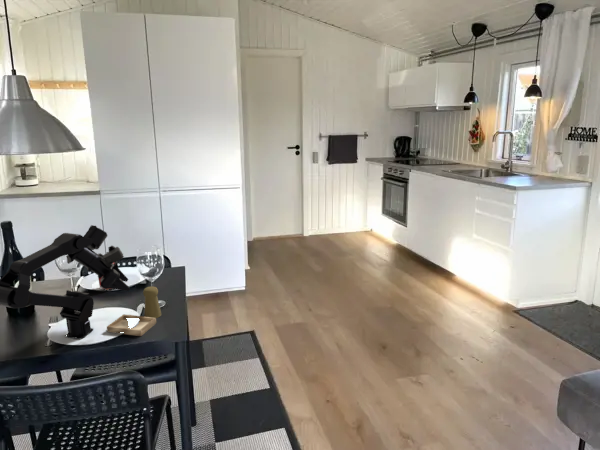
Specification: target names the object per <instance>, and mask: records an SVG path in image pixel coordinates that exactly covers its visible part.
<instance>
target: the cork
mask: <svg viewBox="0 0 600 450" xmlns="http://www.w3.org/2000/svg"><path fill="white" fill-rule="evenodd" d="M142 291H143V292H142V295H143V296H144V313H143V314H144V316H143V317H152V318H156V319H158V318H159V317H161V316H162V310H161V307H160V302H159V298H158V295H159V289H158V288H157V287H156V286H153V285H152V286H147V287H145V288H144V289H143V290H142Z"/></svg>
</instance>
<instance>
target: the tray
mask: <svg viewBox="0 0 600 450" xmlns="http://www.w3.org/2000/svg"><path fill="white" fill-rule="evenodd" d="M126 318H139V319H140V321H139V324H138V325H137V326H136V327H134V328H131V329H130V328H128V327H129V326H128V321H127V319H126ZM156 325H157V318H152V317H144V316H142V315H141V316H140V315H133V314H122V315H121V316H119V317H118V318H116V319H115V320H114V321H113V322H111V323H110V324H108V325H107V326H106V331H107V333H112V334H113V333H114V334H120V332H124V334H123V335H128V336H137V337H143V335H145V334H146V333H147V332H148V331H150V329H152V328H153V327H154V326H156Z"/></svg>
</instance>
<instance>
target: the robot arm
mask: <svg viewBox="0 0 600 450" xmlns="http://www.w3.org/2000/svg"><path fill="white" fill-rule="evenodd" d="M107 233H108V232H106V231H104V230H103V229H101V228H100V227H98V226H97V225H92V224H91V225H90V226H89V227H88V230H87V231H86V232H85V234H84V235H81V234H79V233H69V232H64V233H61V234H60V235H58V236H57V237H56V238H55V239H54V240H53V242H52V243H51V244H49V245H46V246H45V247H43V248H41V249H39V250H38V251H35V252H34V253H32V254H31V253H30V255H27V256H25V257H24V258H21V259H19V260H15V261H13V262H11V264H10V265H9V268H8V270H7V272H5V274H3V275H2V277H1V278H0V306H2V307H5V308H6V307H7V308H11V309H21V308H26V307H29V306H41V307H52V308H53V307H54V308H62V309H61V310H60V312H59V315H60V317H61V318H62V319H65V320H66V328H67V333H66V334H65V335H64V337H65V336H66V335H67V337H66V338H70V339H76V340H77V339H79V340H81V339H83V338H85V337H86V336H87V335H90V333H92V332H93V331H94V328H91V321H90V319H89V318H91V317H92V316H93V312H94V311H93V310H94V305H95V302H94V297H93V296H91V295H90V293H89V292H82V291H76V290H66V291H65V292H66V293H65V294H62V295H61V294H52V293H43V292H34V291H31V290H30V289H31V276H32V274H33V273H34V271H36V270H39V269H40V268H42V267H44V266H47V265H48V264H49V263H52V262H53V261H55V260H57V259H59V258H61V257H64V256H65V257H66V263H67V264H68V265H70V264H71V263H73V262H74V261H75V262H77V263H78V264H80V265H82V266H83V267H84V268H85V269H87V272H89V273H90V272H92V273H94V274H95V275H97V278H101V277H102V276H103V277H102V278H101V279H100V282H101V287H103V288H104V289H112V290H117V291H118V290H120V291H126V292H129V291H130V290H131V288H130V287H129V285H128V284H126V282H128V281H129V279H128V277H127V276H126V274H124V273H123V271H121V269H120V268H119V265H118V261H121V260H122V259H123V258H124V257H125V256H124V253H123V252H122V250H121V249H120V247H119V246H114V245H110V246H109V247H107V248H108V251H106V252H105V254H103V253H97V252H95V251H94V250H99V249H100V247H101V246H102V244H103V243H104V242H105V240H106V239H107V237H108V234H107ZM113 263H114V264H113ZM17 278H18V285H17V286H11V284H13V282H14V281H15V280H16V279H17Z"/></svg>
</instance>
